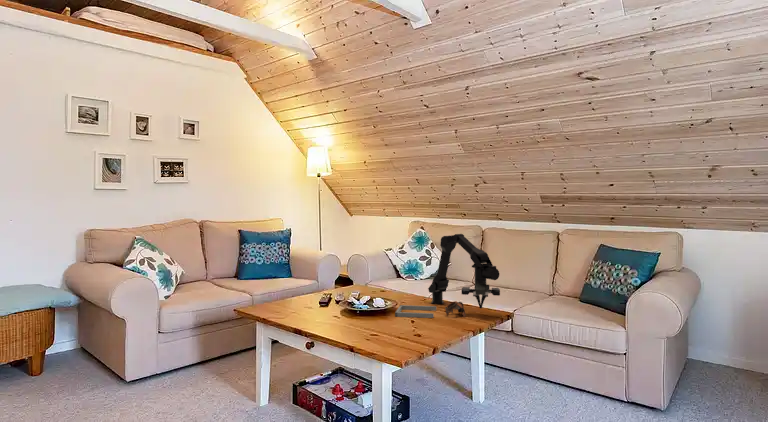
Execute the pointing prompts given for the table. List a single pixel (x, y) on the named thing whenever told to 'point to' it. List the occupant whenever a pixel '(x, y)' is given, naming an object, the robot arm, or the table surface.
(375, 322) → the table surface
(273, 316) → the table surface
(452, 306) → the brown arched figure
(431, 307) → the grey u-shaped frame
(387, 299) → the table surface
